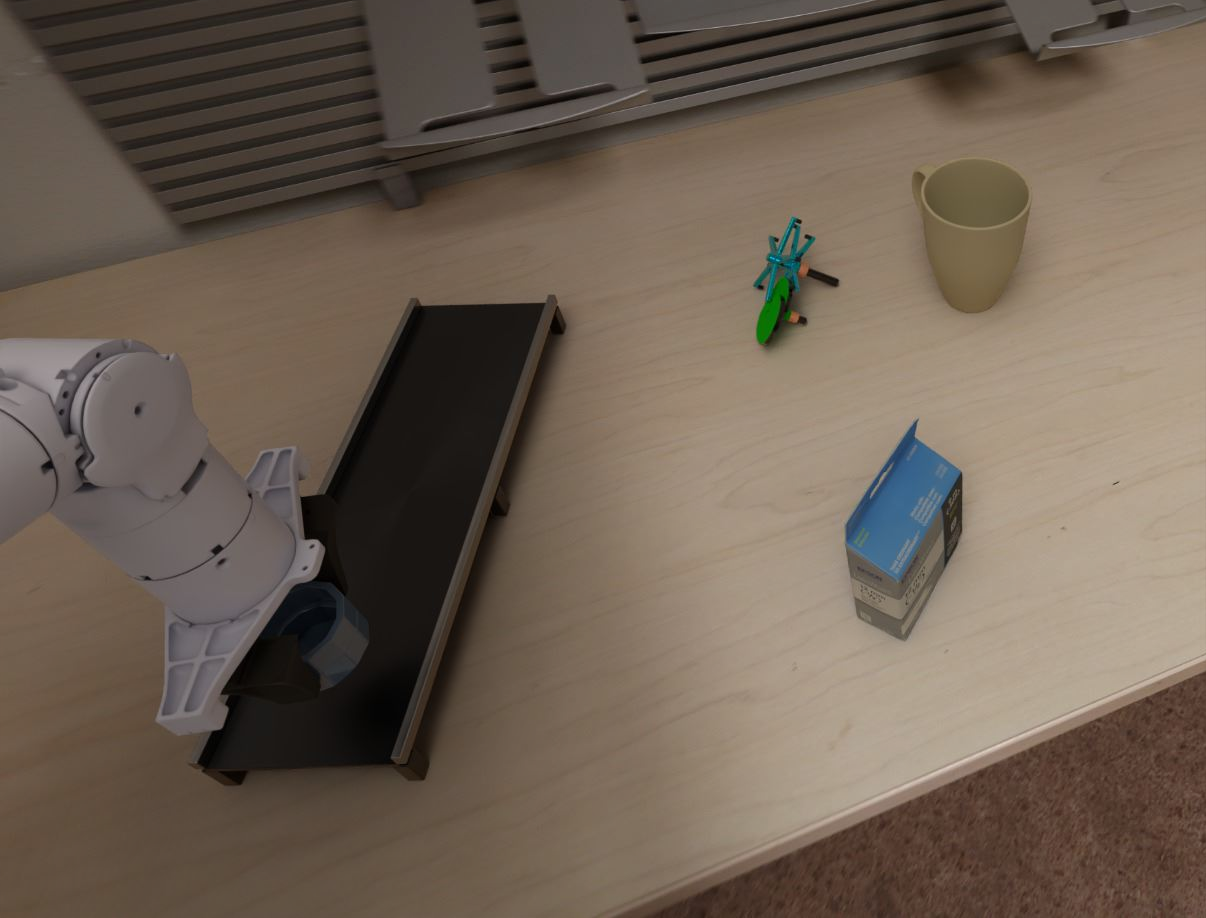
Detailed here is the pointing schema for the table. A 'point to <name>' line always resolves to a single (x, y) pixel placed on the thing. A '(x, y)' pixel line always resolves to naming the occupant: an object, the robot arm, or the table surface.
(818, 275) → the stick construction toy
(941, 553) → the label tape box
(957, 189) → the mug
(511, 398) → the conveyor belt
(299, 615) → the cup
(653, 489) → the table surface
